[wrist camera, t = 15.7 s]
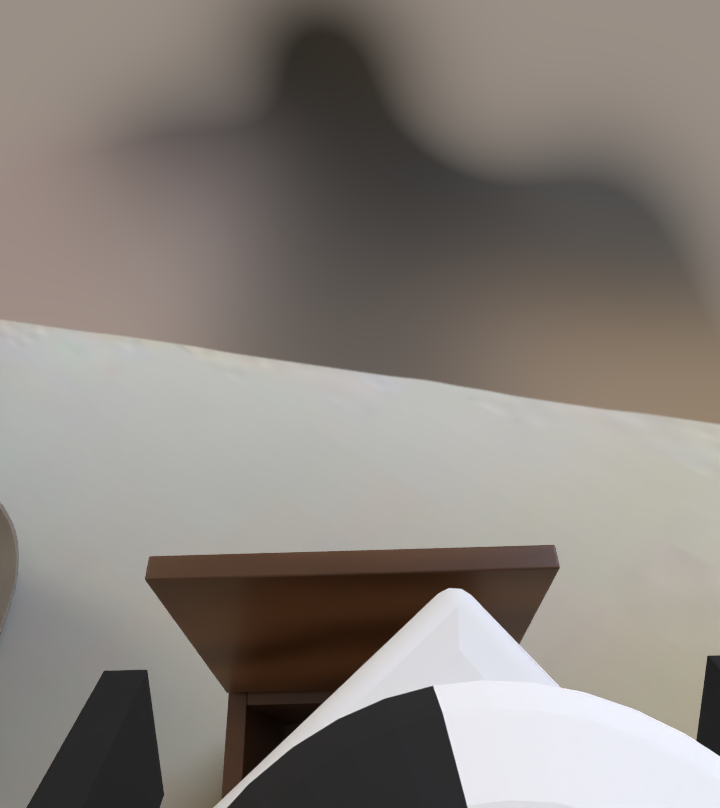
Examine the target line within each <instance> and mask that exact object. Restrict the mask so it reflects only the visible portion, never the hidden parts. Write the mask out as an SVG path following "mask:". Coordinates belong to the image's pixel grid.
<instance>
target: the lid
mask: <svg viewBox="0 0 720 808" xmlns="http://www.w3.org/2000/svg"><path fill="white" fill-rule="evenodd" d="M559 568H560V567H559V562H558V557H557V553H556V548H555V546H554V545H539V546H504V547H468V548H433V549H398V550H363V551H327V552H292V553H257V554H221V555H186V556H151V557H149V561H148V566H147V571H146V577H145V580H146V582H147V583H148V584H149V586H150V587H151V589H152V590H153V591H154V593H155V594H156V595H157V597H158V598H159V600H160V601H161V602H162V604H163V605H164V606H165V608H166V609H167V611H168V612H169V613H170V615H171V616H172V618H173V619H174V620H175V622H176V623H177V624H178V626H179V627H180V629H181V630H182V631H183V633H184V634H185V635H186V637H187V638H188V640H189V641H190V642H191V644H192V645H193V647H194V648H195V649H196V651H197V652H198V653H199V655H200V656H201V658H202V659H203V660H204V662H205V663H206V664H207V666H208V667H209V669H210V670H211V671H212V673H213V674H214V676H215V677H216V678H217V680H218V681H219V682H220V684H221V685H222V687H223V688H224V689H225V691H226V692H227V693H237V692H275V691H312V690H337V689H338V688H339V687H340V686H342V685H343V684H344V683H345V682H346V681H347V680H348V679H349V678H350V677H351V676H352V675H353V674H354V673H355V672H356V671H357V670H358V669H359V668H360V667H361V666H363V665H364V664H365V663H366V662H367V661H368V660H369V659H370V658H371V657H372V656H373V655H374V654H375V653H376V652H377V651H378V650H379V649H380V648H381V647H382V646H384V645H385V644H386V643H387V642H388V641H389V640H390V639H391V638H392V637H393V636H394V635H395V634H396V633H397V632H398V631H399V630H400V629H401V628H402V627H403V626H405V625H406V624H407V623H408V622H409V621H410V620H411V619H412V618H413V617H414V616H415V615H416V614H417V613H418V612H419V611H420V610H421V609H422V608H423V607H425V606H426V605H427V604H428V603H429V602H430V601H431V600H432V599H433V598H434V597H435V596H436V595H437V594H438V593H440V592H442V591H444V590H446V589H448V588H456V589H462V590H464V591H466V592H467V593H469V594H470V595H472V596H473V597H474V598H475V599H476V600H477V602H478V603H479V604H480V605H481V606H482V607H483V608H484V609H485V610H486V611H487V612H488V613H489V614H490V615H491V616H492V617H493V618H494V619H495V620H496V621H497V622H498V623H499V624H500V625H501V626H502V627H503V628H504V630H505V631H506V632H507V633H508V634H509V635H510V636H511V637H512V638H513V639H514V640H515V641H516V642H517V643H518V644H520V642H521V640H522V638H523V636H524V634H525V632H526V630H527V628H528V627H529V625H530V623H531V621H532V619H533V617H534V615H535V613H536V612H537V610H538V608H539V606H540V604H541V602H542V600H543V598H544V596H545V595H546V593H547V591H548V589H549V587H550V585H551V583H552V581H553V580H554V578H555V576H556V574H557V572H558V570H559Z"/></svg>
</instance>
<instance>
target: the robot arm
mask: <svg viewBox="0 0 720 808" xmlns="http://www.w3.org/2000/svg"><path fill="white" fill-rule="evenodd" d="M697 742H699V743H700V744H702V745H703V746H705V747H706V748H708V749H709V750H711V751H712V752H714V753H715V754H717V755H719V756H720V656H708V657H707V665H706V672H705V680H704V688H703V695H702V703H701V710H700V718H699V726H698V733H697ZM163 796H164V791H163V784H162V776H161V769H160V761H159V754H158V747H157V739H156V732H155V725H154V717H153V710H152V702H151V695H150V688H149V680H148V673H147V670H124V671H104V672H103V674H102V676H101V677H100V679H99V681H98V683H97V685H96V686H95V688H94V690H93V692H92V693H91V695H90V697H89V699H88V700H87V702H86V704H85V706H84V707H83V709H82V711H81V713H80V714H79V716H78V718H77V720H76V722H75V723H74V725H73V727H72V729H71V730H70V732H69V734H68V736H67V737H66V739H65V741H64V743H63V744H62V746H61V748H60V750H59V751H58V753H57V755H56V757H55V759H54V760H53V762H52V764H51V766H50V767H49V769H48V771H47V773H46V774H45V776H44V778H43V780H42V781H41V783H40V785H39V787H38V788H37V790H36V792H35V794H34V796H33V797H32V799H31V801H30V803H29V804H28V806H27V808H160V805H161V802H162V799H163Z"/></svg>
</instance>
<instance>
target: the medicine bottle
mask: <svg viewBox="0 0 720 808" xmlns="http://www.w3.org/2000/svg"><path fill="white" fill-rule="evenodd" d="M213 808H720V756H719V755H717V754H715V753H714V752H712V751H711V750H709V749H708V748H706V747H705V746H703V745H702V744H700V743H699V742H697V741H695V740H694V739H692V738H691V737H689V736H688V735H686V734H684V733H682V732H680V731H678V730H676V729H674V728H672V727H670V726H668V725H666V724H664V723H662V722H660V721H658V720H655V719H653V718H651V717H649V716H647V715H645V714H643V713H641V712H639V711H637V710H635V709H632V708H629V707H626V706H623V705H620V704H617V703H614V702H611V701H608V700H606V699H603V698H600V697H597V696H594V695H591V694H588V693H585V692H581V691H575V690H570V689H565V688H560V687H559V685H558V684H557V683H556V682H555V681H554V680H553V679H552V678H551V677H550V676H549V675H548V674H547V673H546V672H545V671H544V670H543V669H542V668H541V667H540V666H539V665H538V664H537V663H536V662H535V661H534V660H533V659H532V657H531V656H530V655H529V654H528V653H527V652H526V651H525V650H524V649H523V648H522V647H521V646H520V645H519V644H518V643H517V642H516V641H515V640H514V639H513V638H512V637H511V636H510V635H509V634H508V633H507V632H506V631H505V630H504V628H503V627H502V626H501V625H500V624H499V623H498V622H497V621H496V620H495V619H494V618H493V617H492V616H491V615H490V614H489V613H488V612H487V611H486V610H485V609H484V608H483V607H482V606H481V605H480V604H479V603H478V602H477V600H476V599H475V598H474V597H473V596H472V595H470V594H469V593H467V592H466V591H464V590H462V589H456V588H448V589H446V590H444V591H442V592H440V593H438V594H437V595H436V596H435V597H434V598H433V599H432V600H431V601H430V602H429V603H428V604H427V605H426V606H425V607H423V608H422V609H421V610H420V611H419V612H418V613H417V614H416V615H415V616H414V617H413V618H412V619H411V620H410V621H409V622H408V623H407V624H406V625H405V626H403V627H402V628H401V629H400V630H399V631H398V632H397V633H396V634H395V635H394V636H393V637H392V638H391V639H390V640H389V641H388V642H387V643H386V644H385V645H384V646H382V647H381V648H380V649H379V650H378V651H377V652H376V653H375V654H374V655H373V656H372V657H371V658H370V659H369V660H368V661H367V662H366V663H365V664H364V665H363V666H361V667H360V668H359V669H358V670H357V671H356V672H355V673H354V674H353V675H352V676H351V677H350V678H349V679H348V680H347V681H346V682H345V683H344V684H343V685H342V686H340V687H339V688H338V689H337V690H336V691H335V692H334V693H333V694H332V695H331V696H330V697H329V698H328V699H327V700H326V701H325V702H324V703H323V704H322V705H321V706H319V707H318V708H317V709H316V710H315V711H314V712H313V713H312V714H311V715H310V716H309V717H308V718H307V719H306V720H305V721H304V722H303V723H302V724H301V725H300V726H298V727H297V728H296V729H295V730H294V731H293V732H292V733H291V734H290V735H289V736H288V737H287V738H286V739H285V740H284V741H283V742H282V743H281V744H280V745H279V746H277V747H276V748H275V749H274V750H273V751H272V752H271V753H270V754H269V755H268V756H267V757H266V758H265V759H264V760H263V761H262V762H261V763H260V764H259V765H258V766H256V767H255V768H254V769H253V770H252V771H251V772H250V773H249V774H248V775H247V776H246V777H245V778H244V779H243V780H242V781H241V782H240V783H239V784H238V785H237V786H235V787H234V788H233V789H232V790H231V791H230V792H229V793H228V794H227V795H226V796H225V797H224V798H223V799H222V800H221V801H220V802H219V803H218V804H217V805H216V806H214V807H213Z"/></svg>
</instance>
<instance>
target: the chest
mask: <svg viewBox="0 0 720 808" xmlns="http://www.w3.org/2000/svg"><path fill="white" fill-rule="evenodd" d="M335 691H336V690H312V691H275V692H237V693H229V699H228V713H227V728H226V742H225V757H224V771H223V785H222V799H223V798H224V797H225V796H226V795H227V794H228V793H229V792H230V791H231V790H232V789H233V788H234V787H235V786H237V785H238V784H239V783H240V782H241V781H242V780H243V779H244V778H245V777H246V776H247V775H248V774H249V773H250V772H251V771H252V770H253V769H254V768H255V767H256V766H258V765H259V764H260V763H261V762H262V761H263V760H264V759H265V758H266V757H267V756H268V755H269V754H270V753H271V752H272V751H273V750H274V749H275V748H276V747H277V746H279V745H280V744H281V743H282V742H283V741H284V740H285V739H286V738H287V737H288V736H289V735H290V734H291V733H292V732H293V731H294V730H295V729H296V728H297V727H298V726H300V725H301V724H302V723H303V722H304V721H305V720H306V719H307V718H308V717H309V716H310V715H311V714H312V713H313V712H314V711H315V710H316V709H317V708H318V707H319V706H321V705H322V704H323V703H324V702H325V701H326V700H327V699H328V698H329V697H330V696H331V695H332V694H333V693H334V692H335Z"/></svg>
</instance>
